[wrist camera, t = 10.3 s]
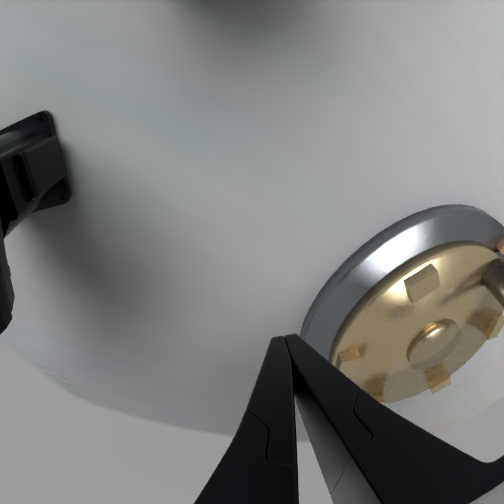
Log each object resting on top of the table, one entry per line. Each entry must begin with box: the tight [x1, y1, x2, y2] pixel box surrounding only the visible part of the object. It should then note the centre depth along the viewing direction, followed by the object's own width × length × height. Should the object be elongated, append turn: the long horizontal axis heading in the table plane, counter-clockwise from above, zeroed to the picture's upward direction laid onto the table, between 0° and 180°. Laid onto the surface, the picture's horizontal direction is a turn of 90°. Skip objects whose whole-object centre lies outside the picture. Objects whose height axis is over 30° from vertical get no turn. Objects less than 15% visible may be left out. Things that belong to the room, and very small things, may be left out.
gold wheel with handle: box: [329, 240, 504, 405], centre depth 22 cm, size 21×21×12 cm
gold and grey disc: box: [300, 204, 504, 361], centre depth 28 cm, size 26×26×2 cm
